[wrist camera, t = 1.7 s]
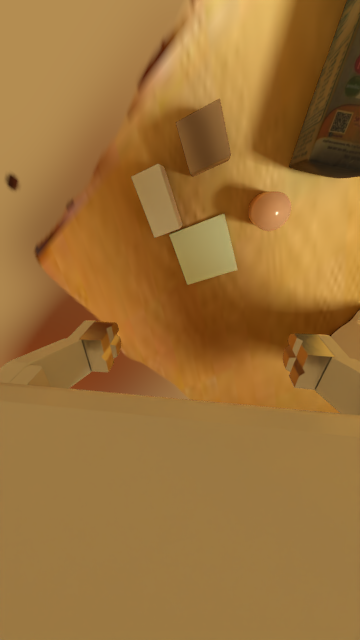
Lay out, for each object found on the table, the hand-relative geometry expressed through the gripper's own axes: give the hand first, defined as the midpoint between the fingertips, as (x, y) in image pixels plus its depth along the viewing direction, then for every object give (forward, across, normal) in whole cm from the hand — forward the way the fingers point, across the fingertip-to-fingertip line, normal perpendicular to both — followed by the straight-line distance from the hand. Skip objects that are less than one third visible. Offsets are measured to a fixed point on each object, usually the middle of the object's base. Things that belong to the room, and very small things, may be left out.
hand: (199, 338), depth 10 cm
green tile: (+28, 0, +2) cm, 28 cm away
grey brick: (+28, +7, -5) cm, 29 cm away
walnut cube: (+28, +1, -11) cm, 30 cm away
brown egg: (+28, -8, -4) cm, 29 cm away
